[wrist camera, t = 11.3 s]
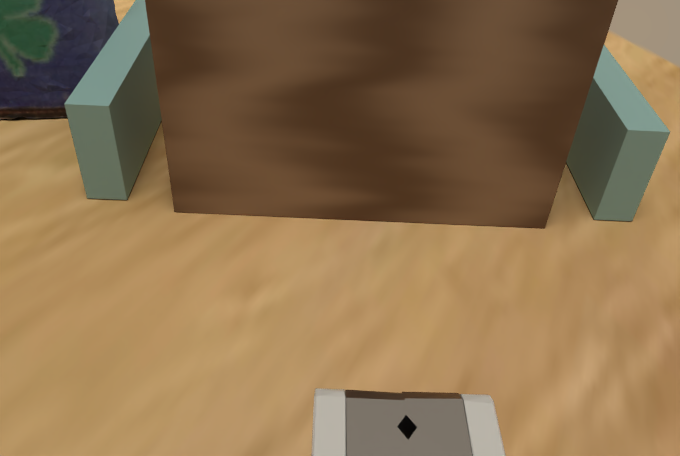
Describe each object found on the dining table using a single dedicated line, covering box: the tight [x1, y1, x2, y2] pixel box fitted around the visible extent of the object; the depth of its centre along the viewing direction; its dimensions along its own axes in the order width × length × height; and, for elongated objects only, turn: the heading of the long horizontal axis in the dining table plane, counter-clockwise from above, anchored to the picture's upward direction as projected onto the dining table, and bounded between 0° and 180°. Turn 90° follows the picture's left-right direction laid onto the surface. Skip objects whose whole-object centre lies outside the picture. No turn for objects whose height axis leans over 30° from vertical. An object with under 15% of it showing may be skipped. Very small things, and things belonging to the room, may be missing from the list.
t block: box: [145, 0, 618, 228], centre depth 26 cm, size 14×12×11 cm
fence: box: [64, 0, 670, 221], centre depth 29 cm, size 21×14×4 cm, turn 90°
